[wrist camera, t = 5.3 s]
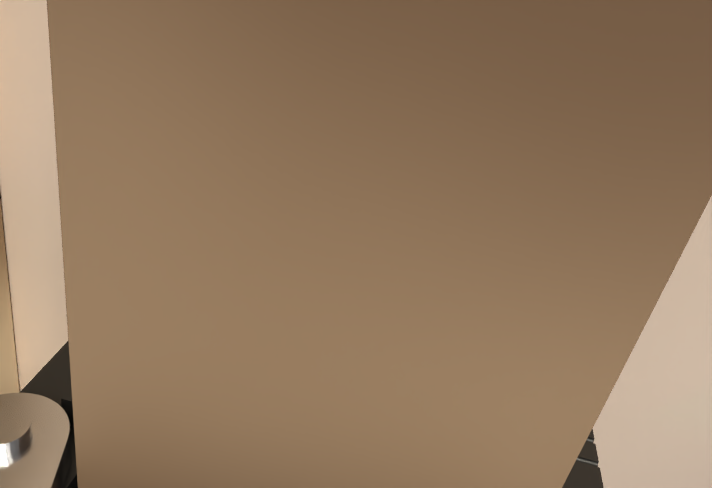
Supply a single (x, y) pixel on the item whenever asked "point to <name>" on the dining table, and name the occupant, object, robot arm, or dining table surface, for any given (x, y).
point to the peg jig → (6, 327)
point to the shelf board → (366, 230)
